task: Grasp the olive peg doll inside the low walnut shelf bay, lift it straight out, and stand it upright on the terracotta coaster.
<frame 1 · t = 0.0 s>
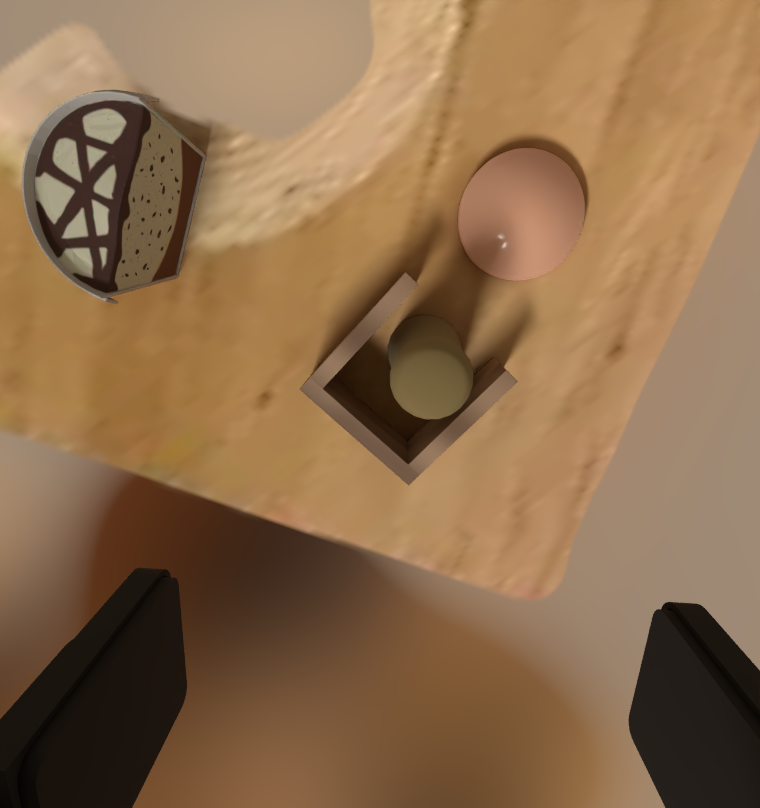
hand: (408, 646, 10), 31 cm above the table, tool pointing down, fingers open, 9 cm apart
terracotta coaster: (518, 217, 36), on the table
walnut shelf bay: (424, 352, 39), on the table
olive peg doll: (424, 351, 40), on the table
food container: (154, 204, 37), on the table
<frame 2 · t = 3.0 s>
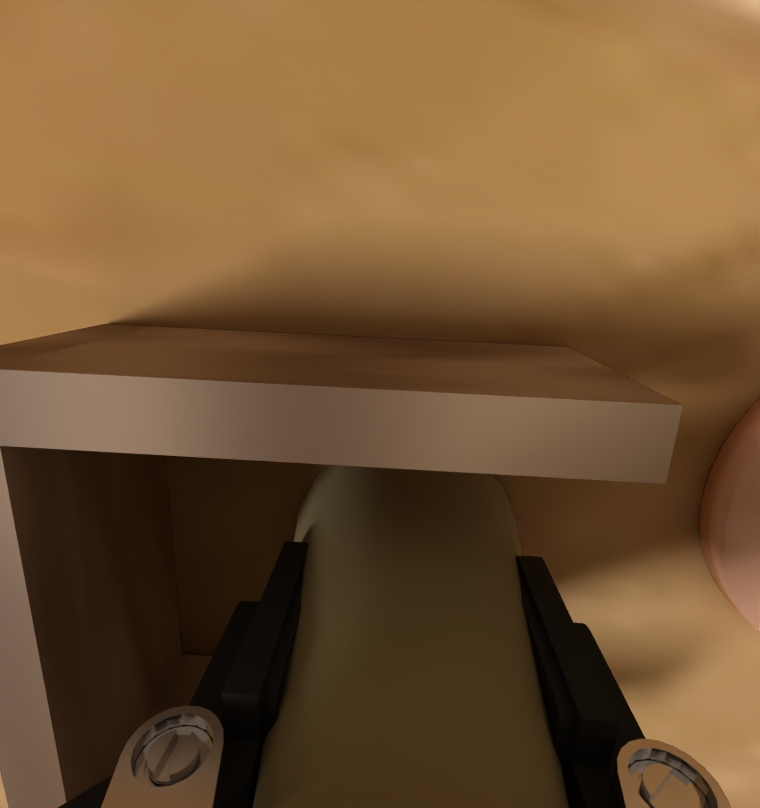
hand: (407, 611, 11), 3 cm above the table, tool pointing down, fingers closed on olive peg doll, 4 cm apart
walnut shelf bay: (406, 541, 13), on the table
olive peg doll: (405, 536, 13), on the table, touching gripper
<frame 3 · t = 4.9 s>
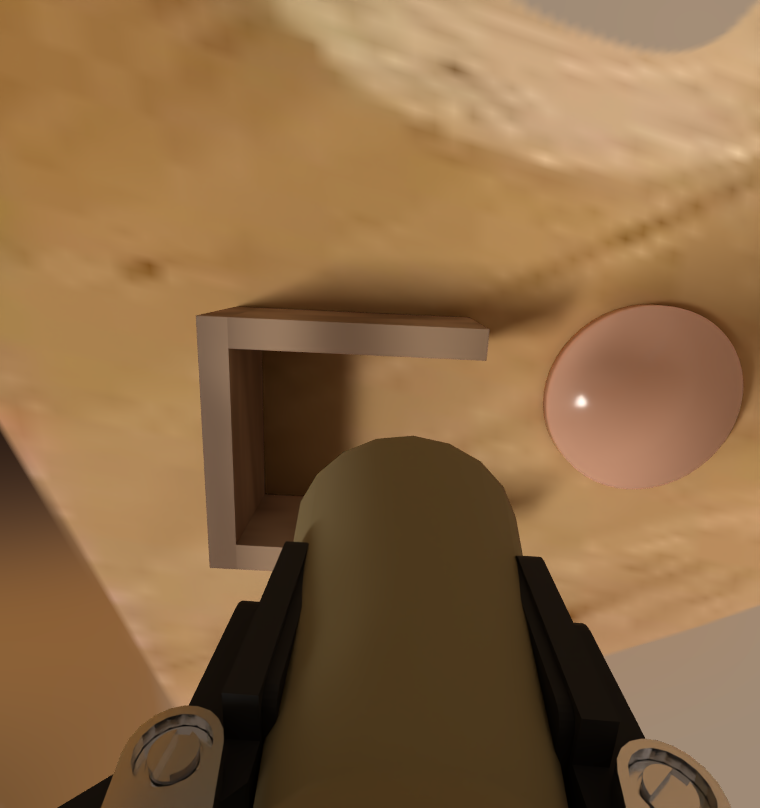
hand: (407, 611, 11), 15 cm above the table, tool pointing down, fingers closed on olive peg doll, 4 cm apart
terracotta coaster: (635, 396, 24), on the table
walnut shelf bay: (390, 423, 25), on the table
olive peg doll: (405, 536, 13), point 12 cm above the table, touching gripper
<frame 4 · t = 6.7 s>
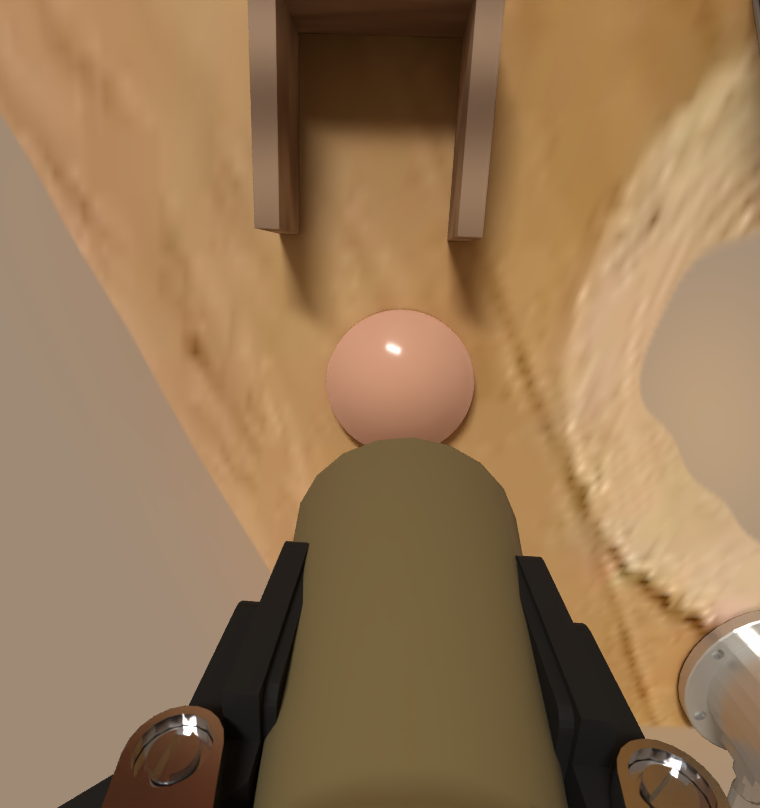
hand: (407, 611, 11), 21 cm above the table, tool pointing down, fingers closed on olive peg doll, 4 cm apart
terracotta coaster: (399, 381, 31), on the table
walnut shelf bay: (375, 171, 27), on the table
olive peg doll: (405, 537, 13), point 18 cm above the table, touching gripper
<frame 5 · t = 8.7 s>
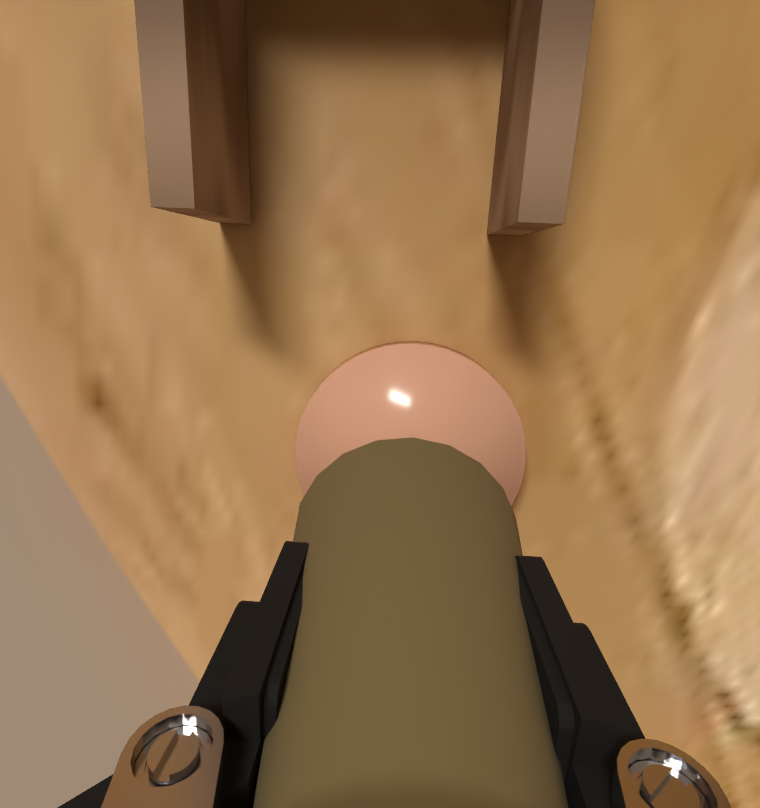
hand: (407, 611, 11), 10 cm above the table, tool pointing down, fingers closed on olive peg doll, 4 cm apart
terracotta coaster: (409, 450, 20), on the table
walnut shelf bay: (371, 121, 17), on the table
olive peg doll: (404, 537, 13), point 7 cm above the table, touching gripper
when the fingers open (5 cm above the table, at t = 10.5 s): olive peg doll stays where it is, resting on terracotta coaster.
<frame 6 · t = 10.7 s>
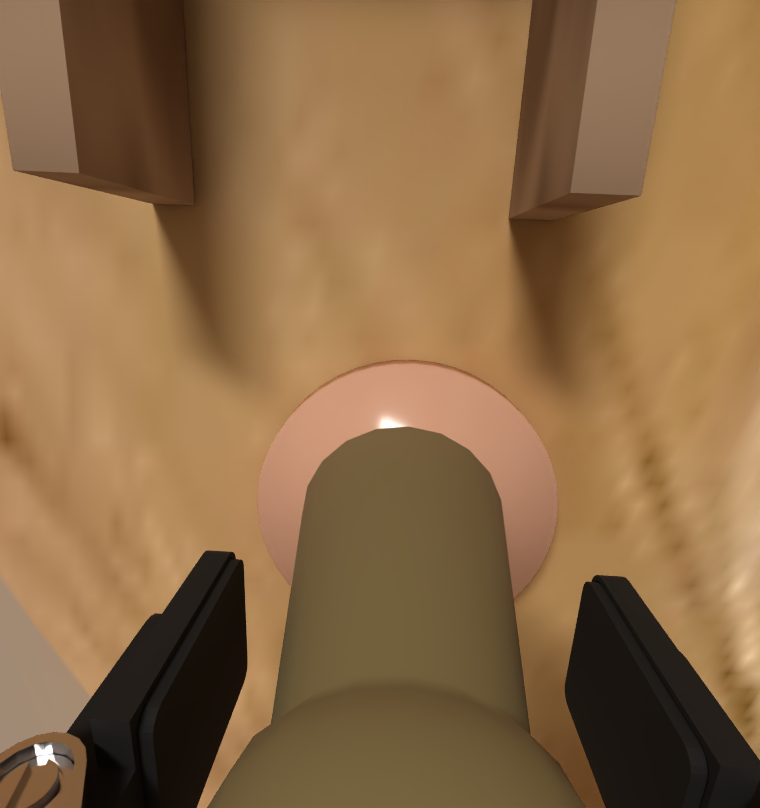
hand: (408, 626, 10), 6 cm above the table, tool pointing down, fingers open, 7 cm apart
terracotta coaster: (405, 498, 16), on the table
walnut shelf bay: (353, 63, 12), on the table
olive peg doll: (401, 517, 15), point 1 cm above the table, touching terracotta coaster
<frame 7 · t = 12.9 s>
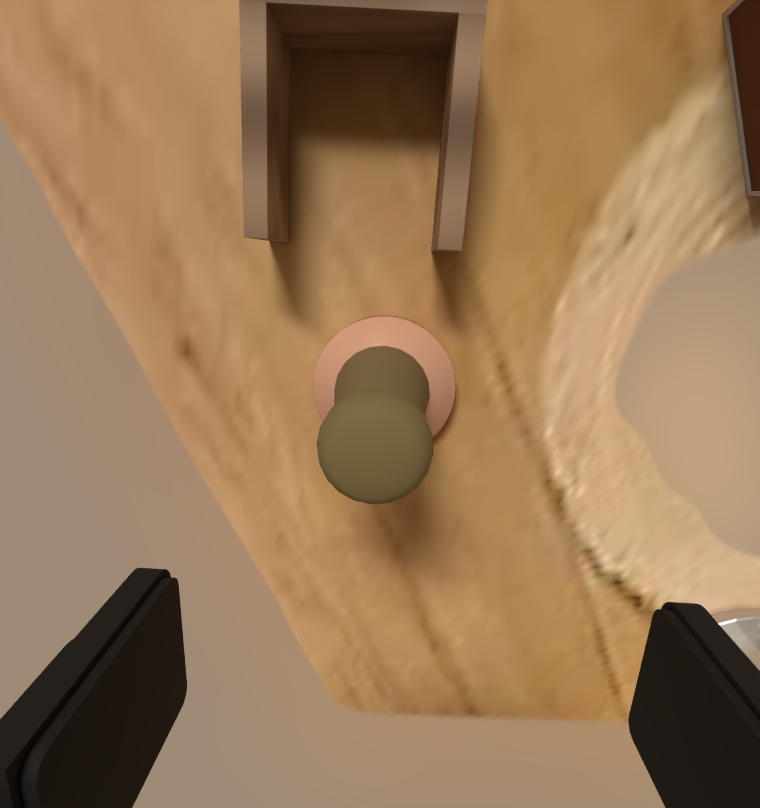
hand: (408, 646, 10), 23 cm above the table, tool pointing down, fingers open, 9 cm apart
terracotta coaster: (384, 385, 32), on the table
walnut shelf bay: (362, 183, 28), on the table
olive peg doll: (382, 392, 31), point 1 cm above the table, touching terracotta coaster
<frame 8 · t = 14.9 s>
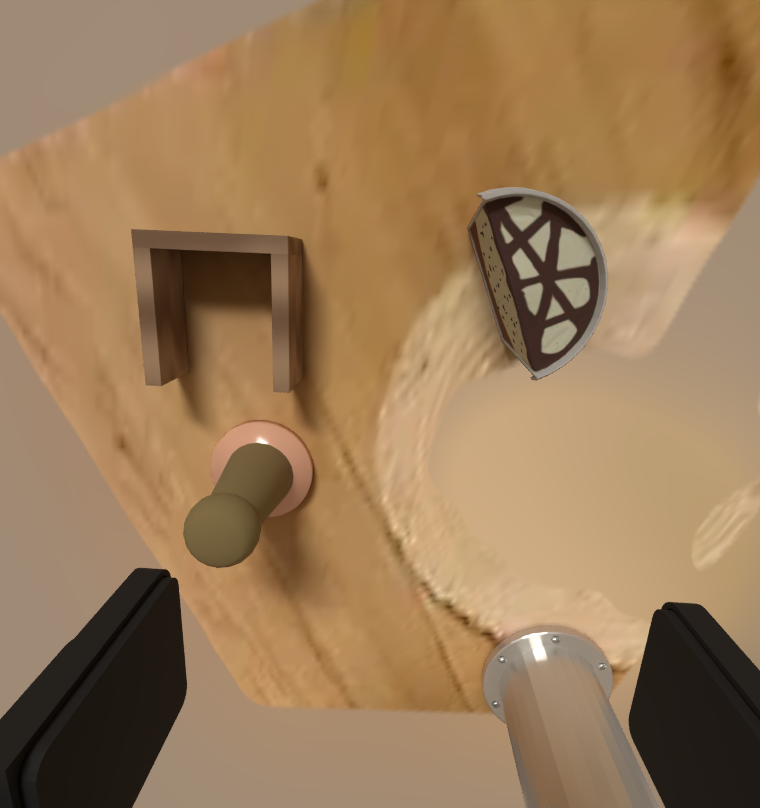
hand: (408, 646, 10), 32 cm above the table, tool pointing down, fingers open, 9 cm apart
terracotta coaster: (263, 467, 44), on the table
walnut shelf bay: (236, 333, 41), on the table
olive peg doll: (260, 473, 43), point 1 cm above the table, touching terracotta coaster
food container: (522, 271, 39), on the table
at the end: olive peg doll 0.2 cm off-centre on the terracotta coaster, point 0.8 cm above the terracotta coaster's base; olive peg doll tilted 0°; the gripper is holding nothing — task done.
